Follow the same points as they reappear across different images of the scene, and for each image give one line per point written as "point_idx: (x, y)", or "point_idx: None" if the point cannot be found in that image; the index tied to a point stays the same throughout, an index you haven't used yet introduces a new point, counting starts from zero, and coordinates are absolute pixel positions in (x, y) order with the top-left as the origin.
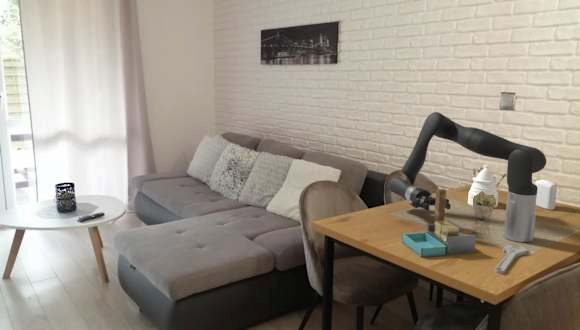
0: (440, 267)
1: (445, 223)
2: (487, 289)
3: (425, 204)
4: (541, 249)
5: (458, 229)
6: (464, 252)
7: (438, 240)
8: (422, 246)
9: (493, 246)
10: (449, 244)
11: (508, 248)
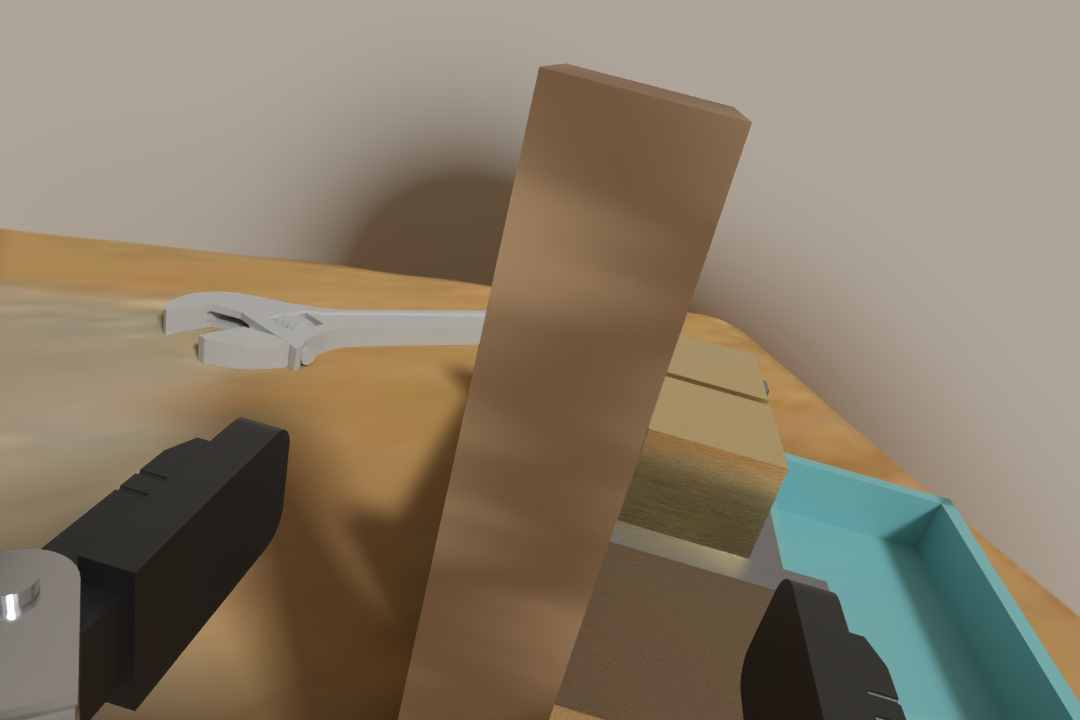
0: (836, 449)
1: (707, 399)
2: (727, 328)
3: (852, 671)
4: (47, 285)
5: None
6: None
7: None
8: (869, 633)
9: (261, 414)
10: None
11: (285, 333)
